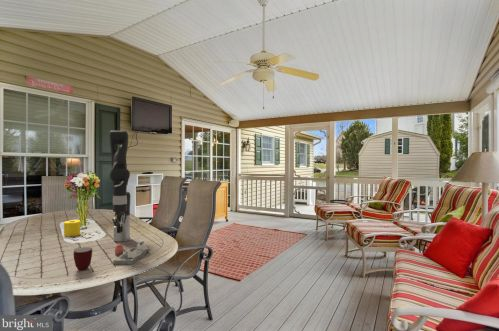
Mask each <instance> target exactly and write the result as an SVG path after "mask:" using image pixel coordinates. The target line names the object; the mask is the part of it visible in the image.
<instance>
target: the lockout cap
mask: <svg viewBox="0 0 499 331" xmlns="http://www.w3.org/2000/svg"><path fill="white" fill-rule="evenodd" d="M123 253H124V245H123V244H121V243H117V244H116V245H115V247H114V255H115V256H117V257H119V256H120V255H122V254H123Z"/></svg>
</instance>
